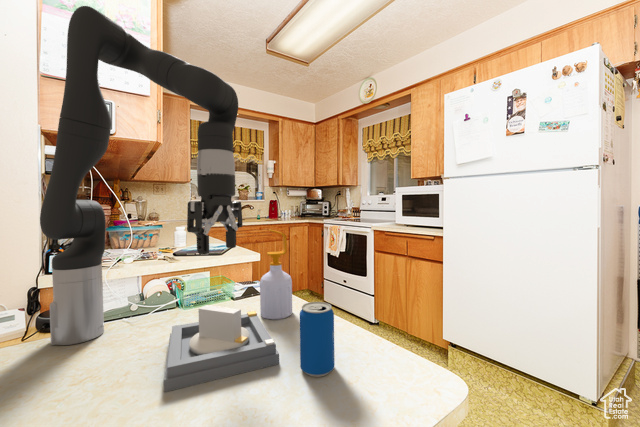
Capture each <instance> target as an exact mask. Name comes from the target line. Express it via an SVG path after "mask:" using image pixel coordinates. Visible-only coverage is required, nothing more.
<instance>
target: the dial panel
mask: <svg viewBox="0 0 640 427" xmlns="http://www.w3.org/2000/svg"><path fill="white" fill-rule="evenodd" d="M241 327H243V328H245V329H247V330H248V331H249V341H248V342H247V344H246V345H244V346H242V347H237V348H232V349H228V350H223V351H218V352H213V353H209V354H204V355H197V354H195V353H193V352H192V351H191V350H190V347H189V342H190V339H191V338H192V337H193V336H194V335H195V334H197V333H199V321H196V322H189V323H185V324H178V325H173V326H171V333H170V334H169V340H168V347H167V354H166V362H165V371H164V378H163V387H164V390H163V392H164V393H167V392H170V391H175V390H177V389H178V390H179V389H183V388H186V387H191V386H195V385H200V384H203V383H207V382H211V381H216V380H218V379H219V380H220V379H222V378H227V377H232V376H235V375H239V374H243V373H247V372H252V371H256V370H259V369H264V368H268V367H272V366H277V365H279V364H280V353H279V351H278V350H277V344H276V342H275V341H274V340H275V339H274V338H272V336H271V335H270V333H269V331H268V330H267V329H266V327H265V325H264V324H263V323H262V321H261V319H260V318H259V316H258V313H257V311H255V310H252V311H247V313H246V314H241Z"/></svg>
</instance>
